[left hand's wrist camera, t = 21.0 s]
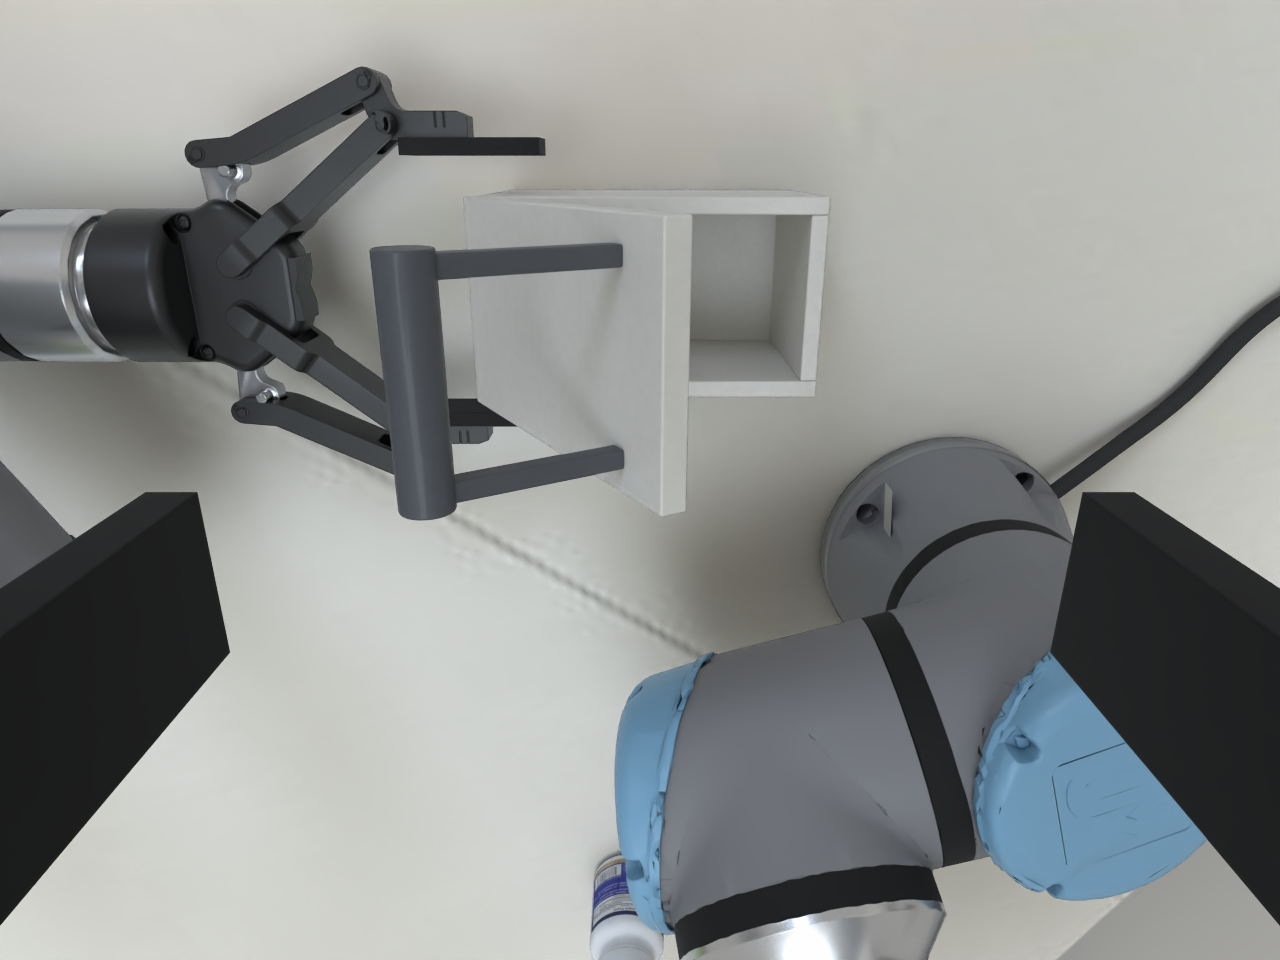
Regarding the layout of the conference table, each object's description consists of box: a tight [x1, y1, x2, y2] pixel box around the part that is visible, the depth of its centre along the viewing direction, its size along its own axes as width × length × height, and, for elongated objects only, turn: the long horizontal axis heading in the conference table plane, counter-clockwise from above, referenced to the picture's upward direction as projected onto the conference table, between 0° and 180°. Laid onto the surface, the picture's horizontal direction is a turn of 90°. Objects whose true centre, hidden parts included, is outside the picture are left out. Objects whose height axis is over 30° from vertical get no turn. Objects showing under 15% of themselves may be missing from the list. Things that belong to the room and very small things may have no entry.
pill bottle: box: [590, 855, 664, 960], centre depth 60 cm, size 5×5×9 cm
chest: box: [478, 190, 830, 397], centre depth 43 cm, size 16×9×11 cm, turn 90°
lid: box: [370, 197, 693, 520], centre depth 29 cm, size 16×9×8 cm
